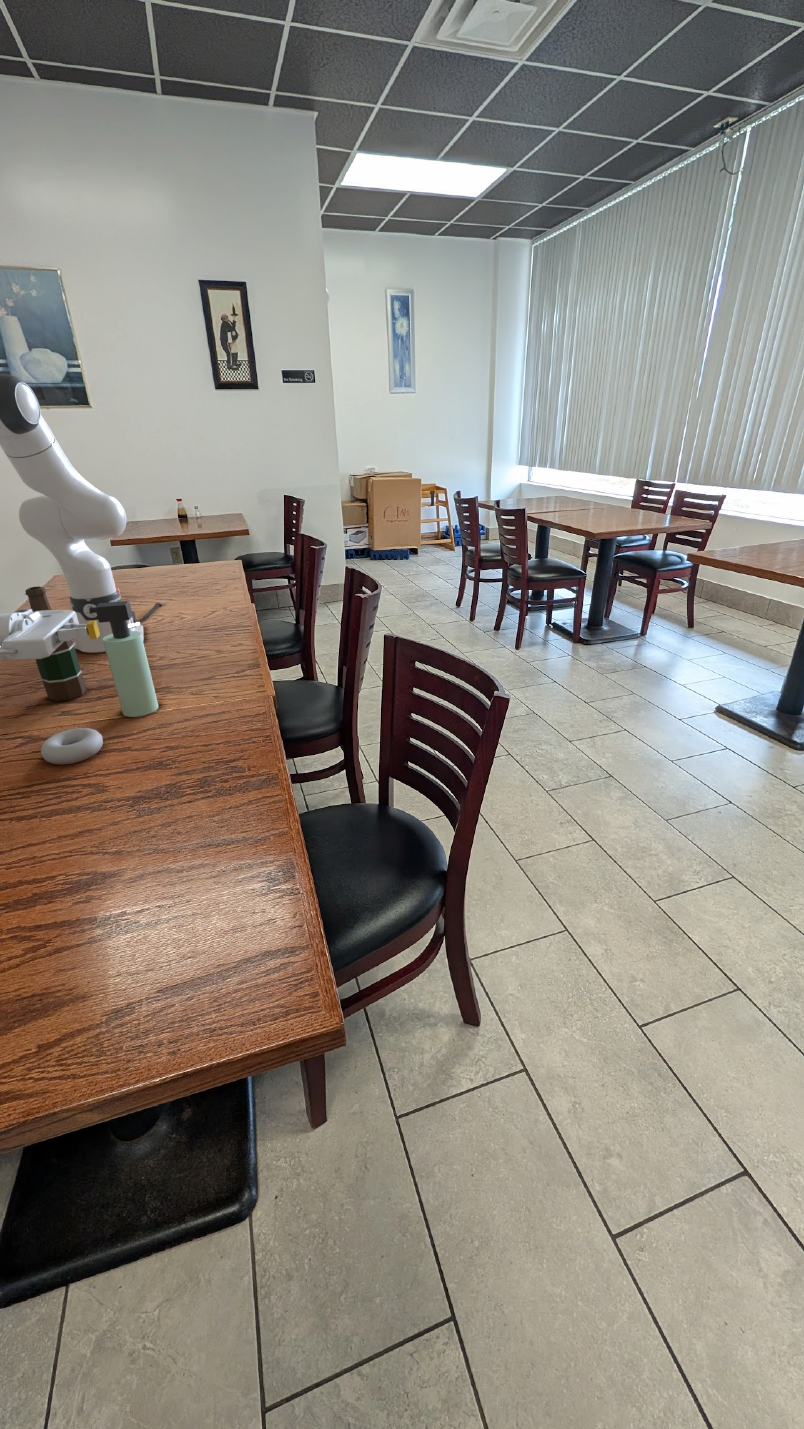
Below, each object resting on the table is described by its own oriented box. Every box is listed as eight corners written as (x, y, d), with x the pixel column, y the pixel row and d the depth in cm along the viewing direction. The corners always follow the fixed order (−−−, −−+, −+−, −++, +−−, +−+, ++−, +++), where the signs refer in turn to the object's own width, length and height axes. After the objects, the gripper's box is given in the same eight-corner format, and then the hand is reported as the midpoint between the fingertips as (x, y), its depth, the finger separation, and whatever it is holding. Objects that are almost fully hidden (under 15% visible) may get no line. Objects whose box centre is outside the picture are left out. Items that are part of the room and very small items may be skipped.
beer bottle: (71, 702, 127) (36, 593, 116) (40, 700, 128) (3, 592, 118) (94, 688, 133) (64, 583, 123) (65, 686, 135) (32, 583, 124)
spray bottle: (121, 705, 124) (93, 601, 115) (161, 701, 126) (136, 597, 116) (113, 719, 118) (83, 610, 108) (155, 714, 120) (128, 607, 110)
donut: (74, 772, 100) (117, 744, 108) (68, 755, 98) (112, 727, 107) (31, 764, 103) (75, 737, 112) (24, 747, 102) (70, 721, 110)
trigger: (93, 635, 115) (89, 620, 114) (100, 635, 115) (96, 620, 114) (90, 639, 113) (86, 624, 112) (97, 638, 113) (92, 623, 112)
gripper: (-19, 637, 101) (67, 630, 103) (26, 606, 119) (98, 601, 121) (-7, 671, 103) (77, 664, 106) (35, 636, 121) (106, 630, 124)
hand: (89, 630), depth 113 cm, fingers closed
